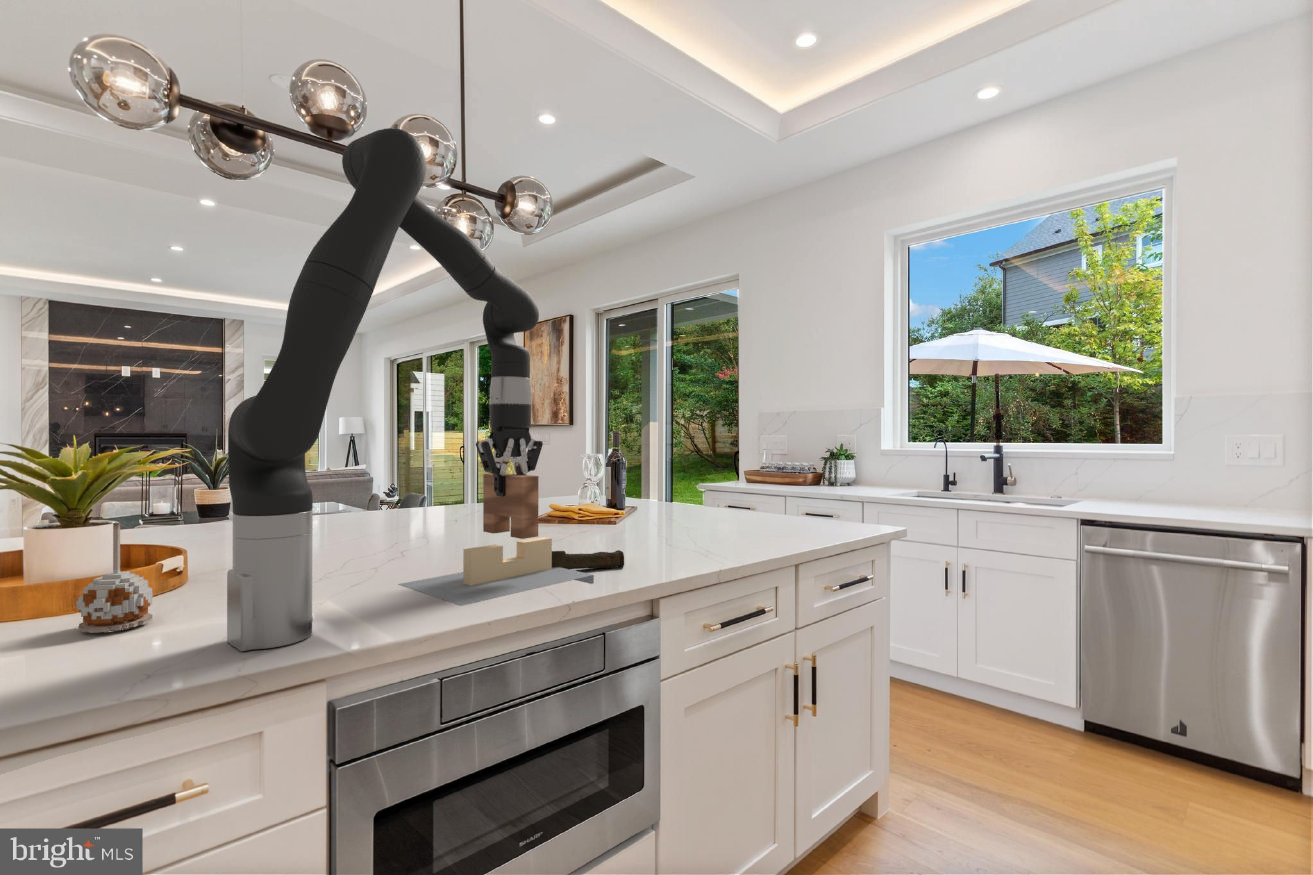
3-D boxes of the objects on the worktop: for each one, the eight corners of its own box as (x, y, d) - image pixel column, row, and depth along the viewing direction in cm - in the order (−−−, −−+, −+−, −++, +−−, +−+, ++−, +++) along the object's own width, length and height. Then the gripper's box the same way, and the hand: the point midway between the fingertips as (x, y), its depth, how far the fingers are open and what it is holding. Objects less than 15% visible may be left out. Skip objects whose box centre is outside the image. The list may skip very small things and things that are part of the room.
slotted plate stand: (461, 614, 96) (461, 566, 96) (398, 592, 109) (398, 549, 109) (593, 582, 117) (593, 542, 117) (527, 567, 130) (527, 531, 130)
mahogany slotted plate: (522, 538, 110) (522, 477, 110) (483, 531, 118) (483, 473, 118) (538, 536, 113) (538, 476, 113) (499, 529, 121) (499, 472, 121)
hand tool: (618, 568, 133) (617, 546, 134) (625, 569, 130) (625, 546, 130) (531, 574, 125) (531, 550, 126) (536, 575, 121) (536, 551, 122)
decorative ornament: (64, 638, 84) (65, 527, 84) (102, 621, 92) (102, 519, 92) (131, 634, 86) (131, 526, 86) (162, 618, 93) (163, 518, 93)
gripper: (489, 400, 108) (489, 499, 108) (553, 403, 118) (553, 493, 119) (465, 401, 113) (465, 496, 113) (528, 404, 123) (528, 491, 124)
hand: (510, 494), depth 116 cm, fingers closed on mahogany slotted plate, 3 cm apart
